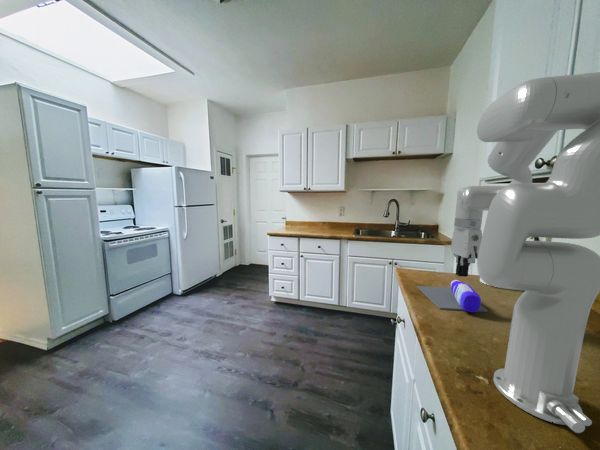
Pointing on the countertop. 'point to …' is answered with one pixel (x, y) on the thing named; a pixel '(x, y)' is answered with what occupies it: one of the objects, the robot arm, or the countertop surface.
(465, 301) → the bottle
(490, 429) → the countertop surface
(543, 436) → the countertop surface
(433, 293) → the mat
